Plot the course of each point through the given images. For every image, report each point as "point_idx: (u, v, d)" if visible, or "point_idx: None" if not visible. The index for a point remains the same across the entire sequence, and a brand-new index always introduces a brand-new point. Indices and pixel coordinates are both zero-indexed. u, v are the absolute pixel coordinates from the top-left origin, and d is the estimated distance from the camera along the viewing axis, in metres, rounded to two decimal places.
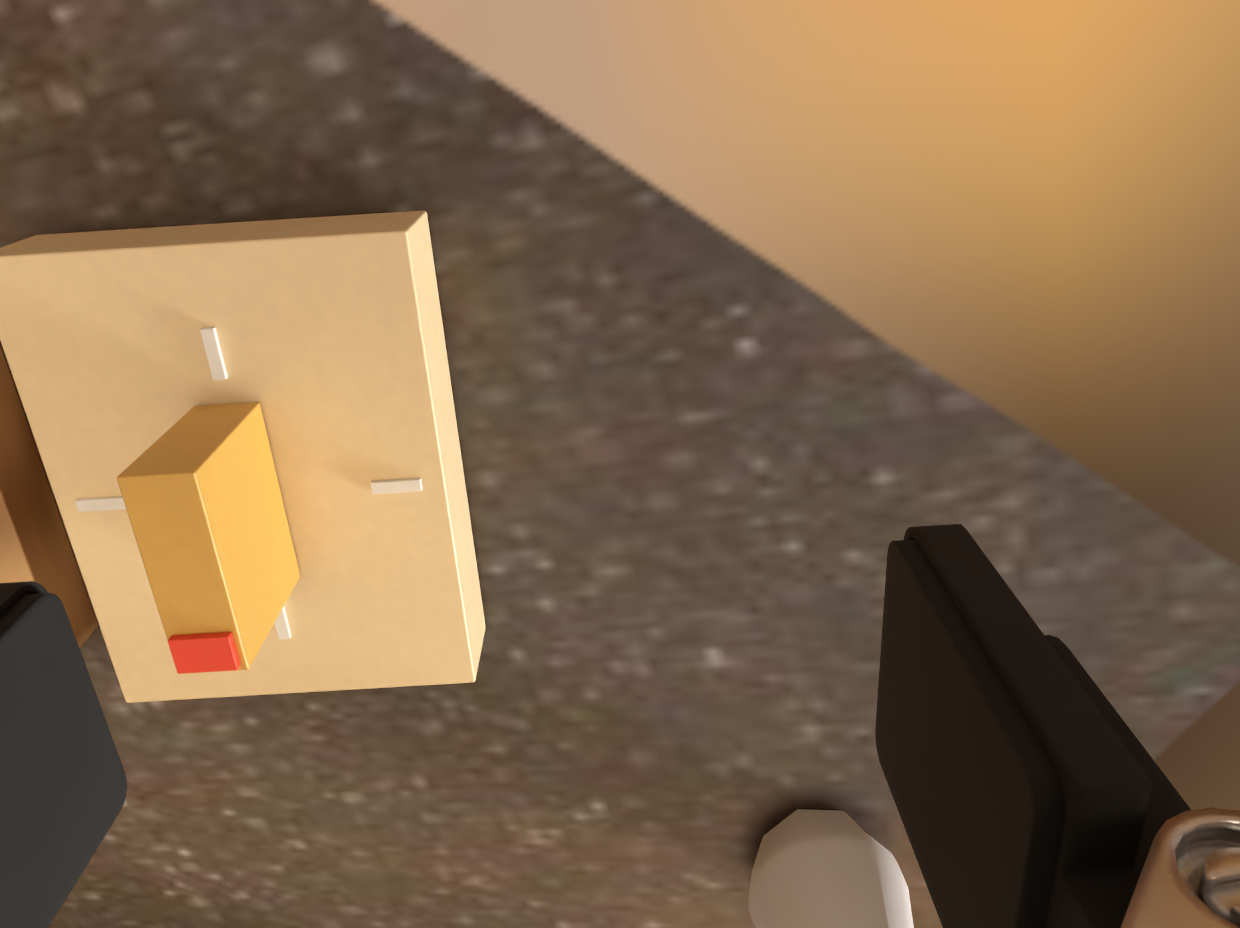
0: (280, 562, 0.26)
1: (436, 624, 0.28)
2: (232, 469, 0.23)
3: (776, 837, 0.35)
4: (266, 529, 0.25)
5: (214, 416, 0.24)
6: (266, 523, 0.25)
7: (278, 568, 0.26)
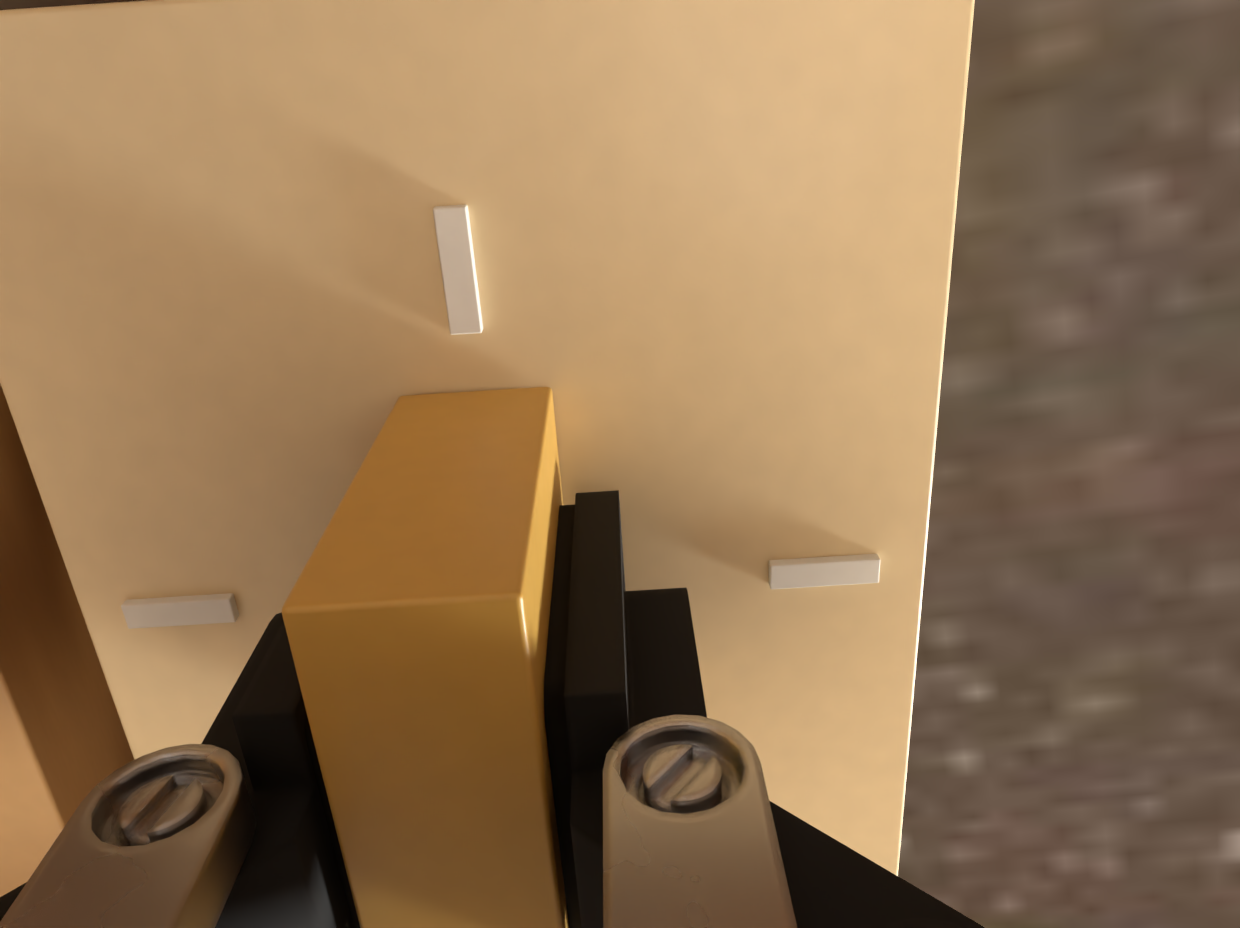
0: None
1: (843, 838, 0.14)
2: (546, 558, 0.09)
3: None
4: None
5: (467, 421, 0.10)
6: None
7: None
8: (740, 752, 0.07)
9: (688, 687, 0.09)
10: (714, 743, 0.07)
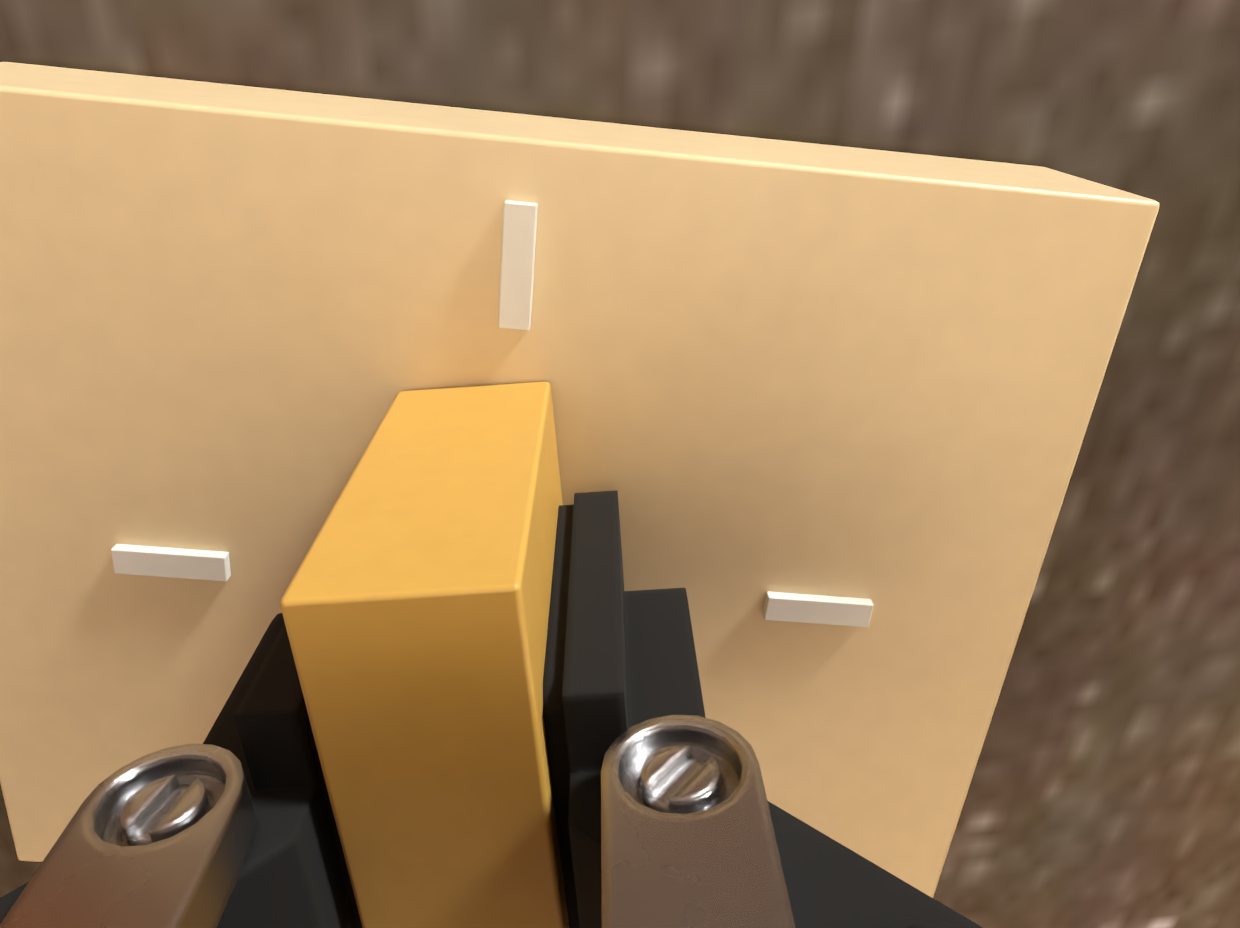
0: None
1: (945, 264, 0.11)
2: (545, 551, 0.09)
3: None
4: None
5: (466, 416, 0.10)
6: None
7: None
8: (739, 752, 0.07)
9: (686, 687, 0.09)
10: (712, 743, 0.07)
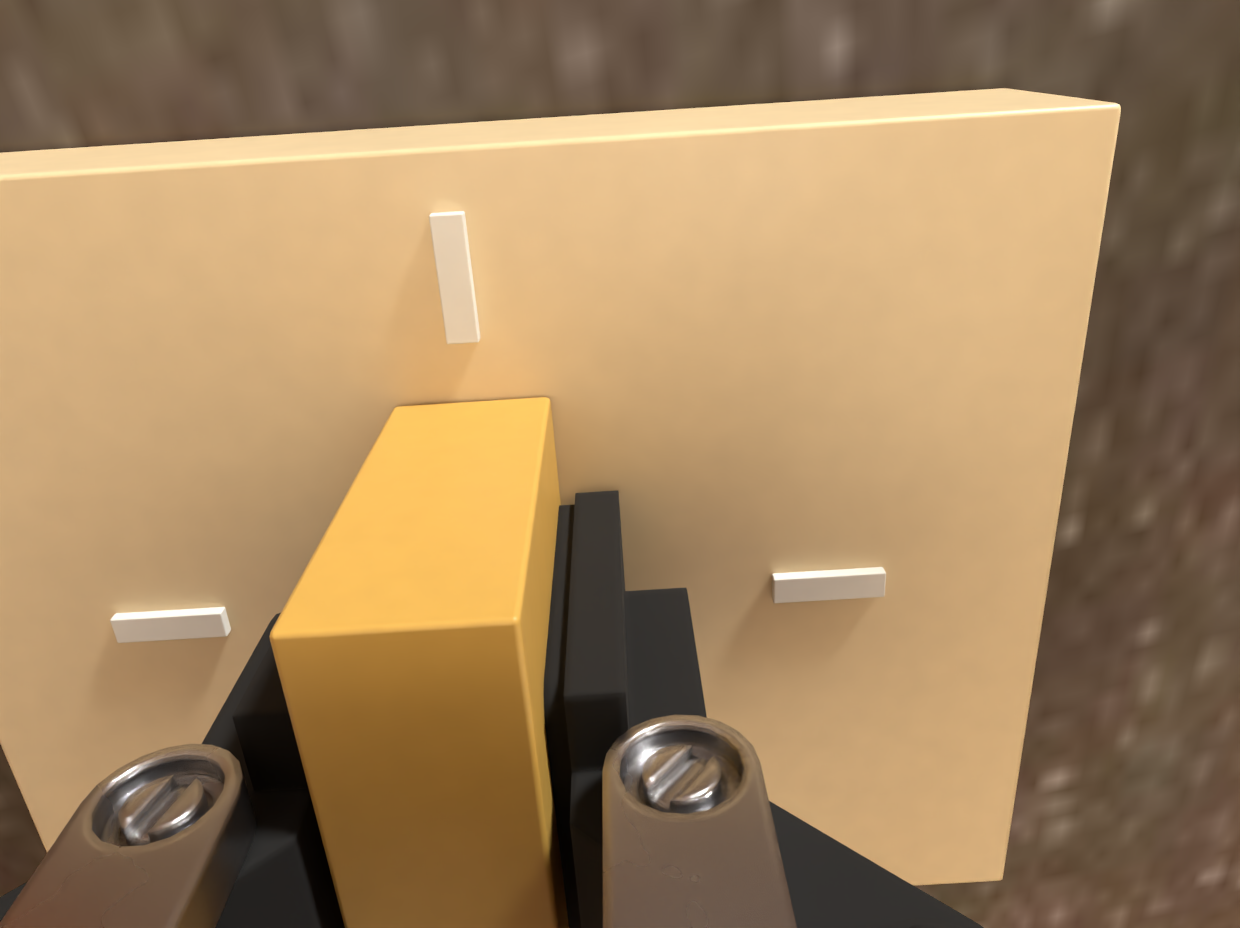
0: None
1: (898, 207, 0.10)
2: (544, 576, 0.09)
3: None
4: None
5: (464, 434, 0.10)
6: None
7: None
8: (740, 752, 0.07)
9: (688, 687, 0.09)
10: (714, 743, 0.07)
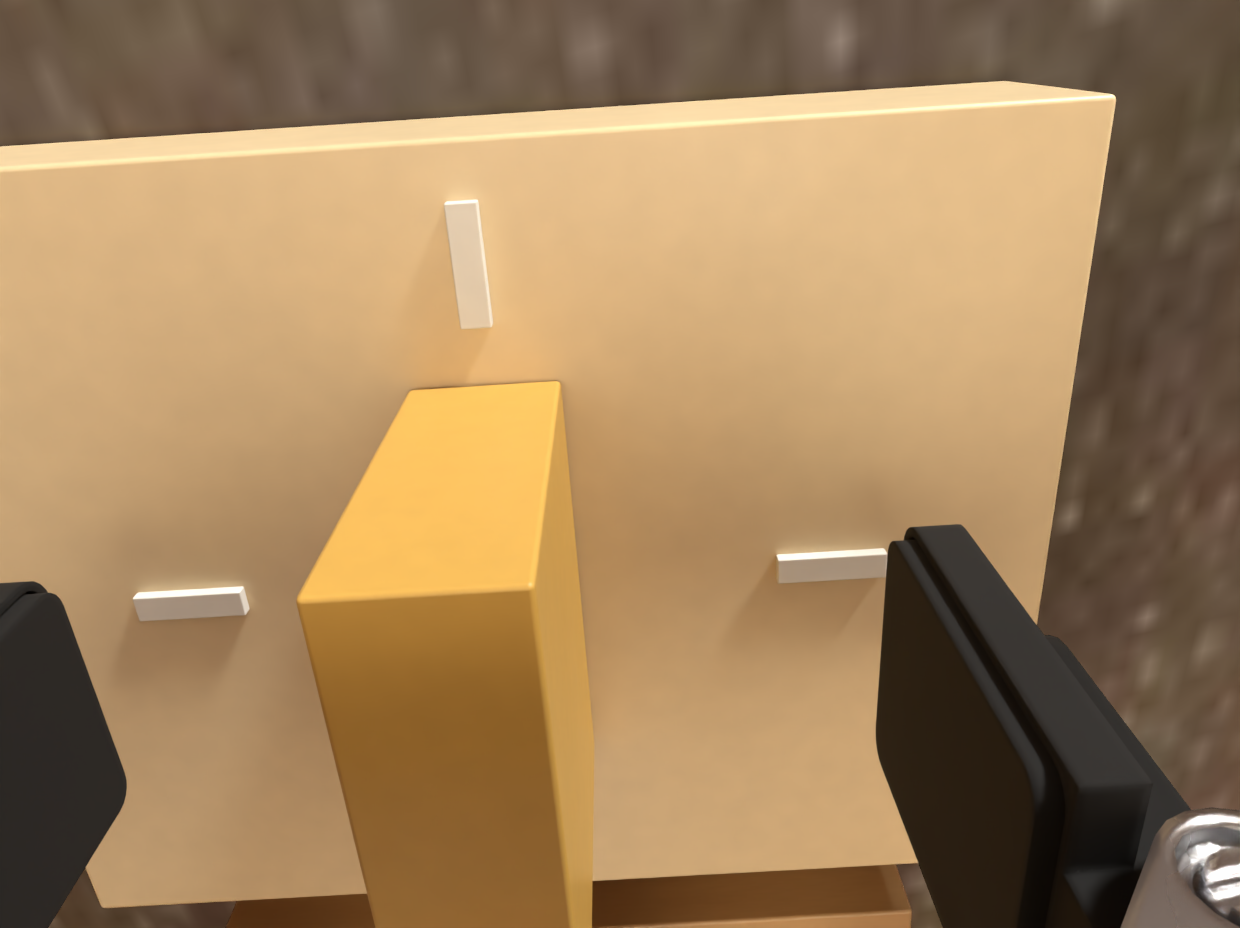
0: (587, 737, 0.12)
1: (899, 195, 0.10)
2: (557, 550, 0.09)
3: None
4: (578, 674, 0.11)
5: (477, 415, 0.10)
6: (577, 662, 0.11)
7: (587, 754, 0.12)
8: None
9: (1140, 762, 0.08)
10: None
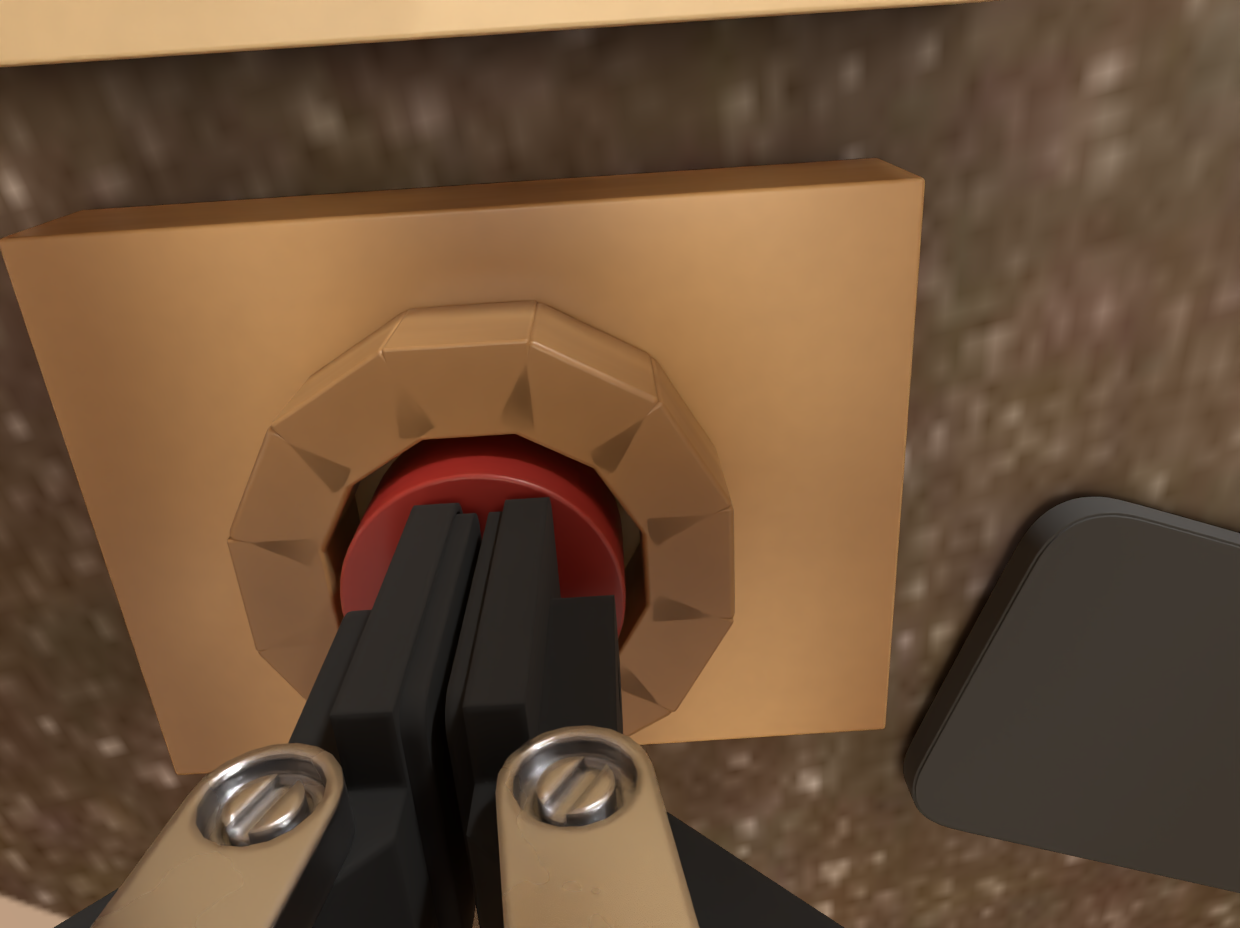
0: None
1: None
2: None
3: None
4: None
5: None
6: None
7: None
8: (634, 758, 0.07)
9: (601, 696, 0.09)
10: (606, 752, 0.07)
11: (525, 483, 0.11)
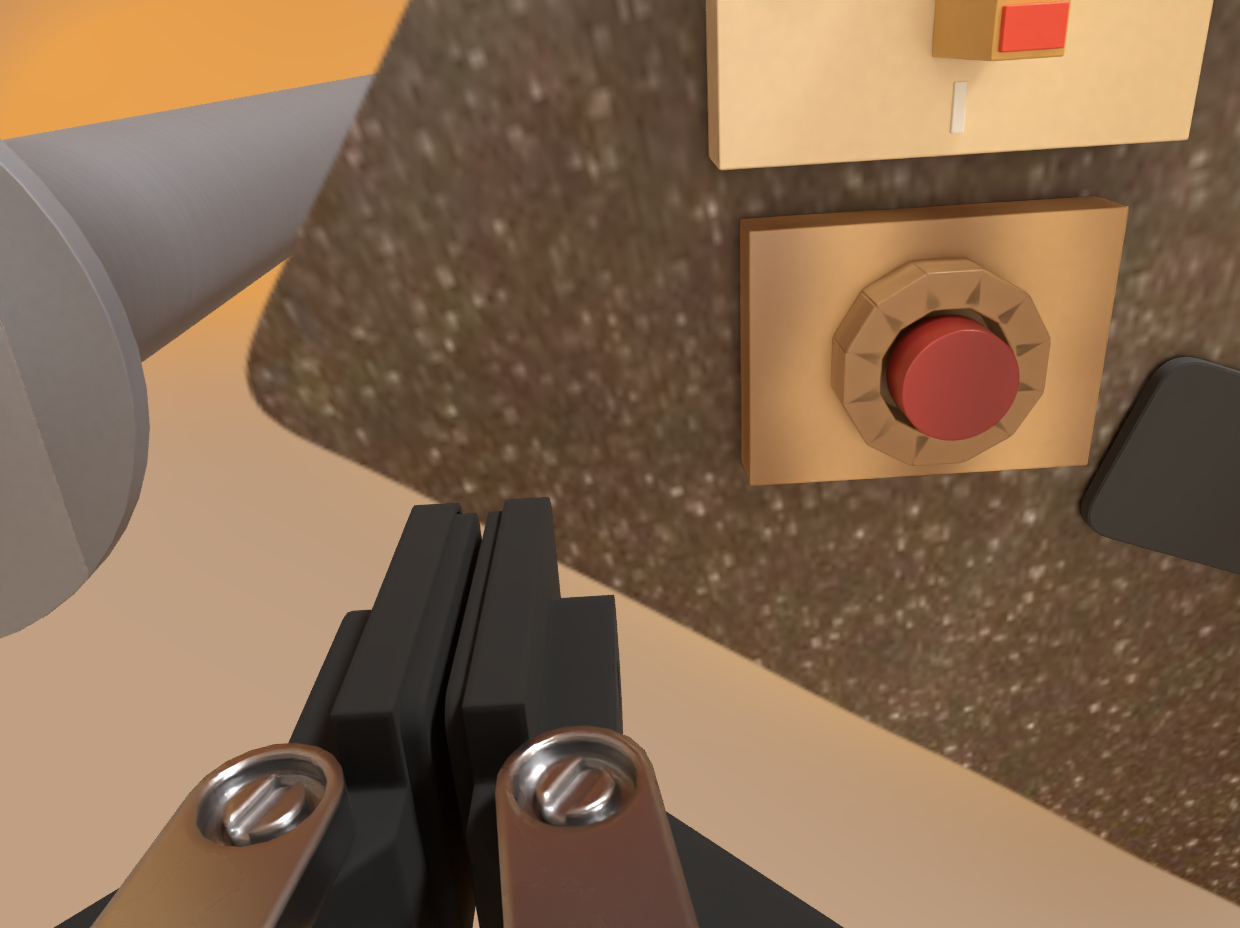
0: None
1: None
2: None
3: None
4: None
5: None
6: None
7: None
8: (632, 758, 0.07)
9: (601, 696, 0.09)
10: (606, 752, 0.07)
11: (989, 333, 0.28)
